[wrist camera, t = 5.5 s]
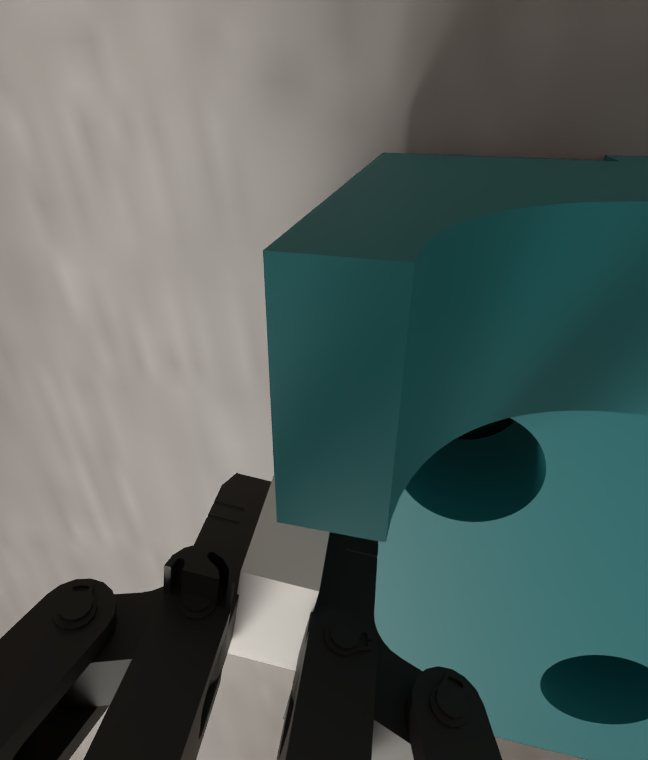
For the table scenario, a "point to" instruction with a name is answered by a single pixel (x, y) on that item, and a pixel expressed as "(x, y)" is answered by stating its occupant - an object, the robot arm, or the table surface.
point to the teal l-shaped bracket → (481, 424)
